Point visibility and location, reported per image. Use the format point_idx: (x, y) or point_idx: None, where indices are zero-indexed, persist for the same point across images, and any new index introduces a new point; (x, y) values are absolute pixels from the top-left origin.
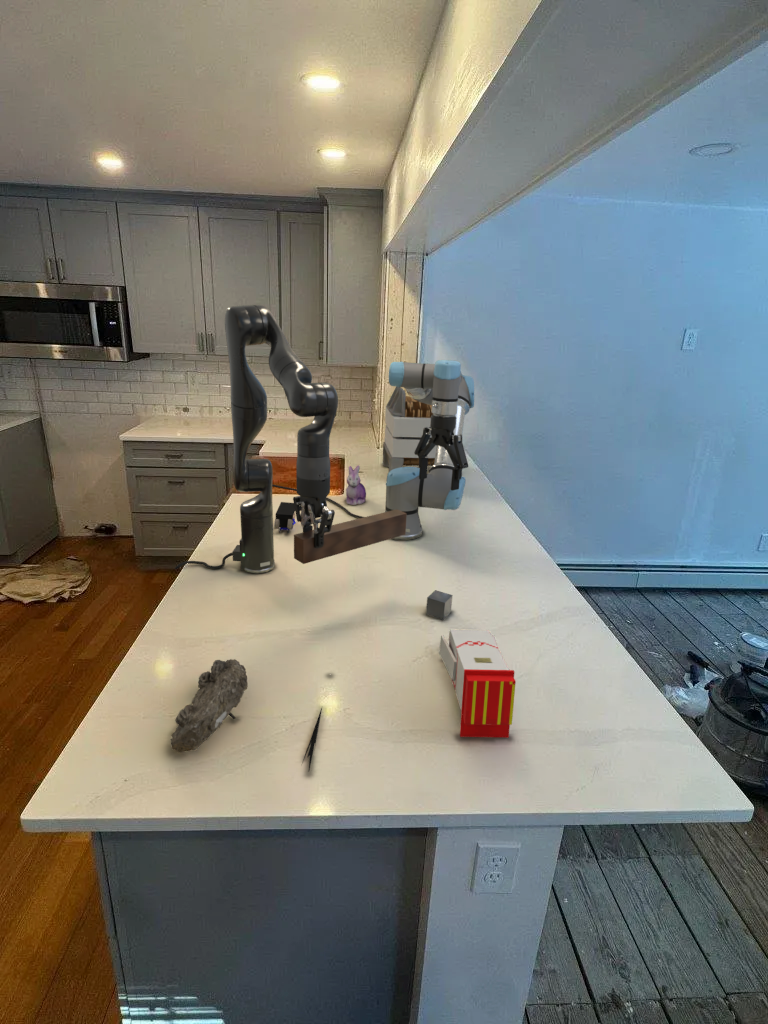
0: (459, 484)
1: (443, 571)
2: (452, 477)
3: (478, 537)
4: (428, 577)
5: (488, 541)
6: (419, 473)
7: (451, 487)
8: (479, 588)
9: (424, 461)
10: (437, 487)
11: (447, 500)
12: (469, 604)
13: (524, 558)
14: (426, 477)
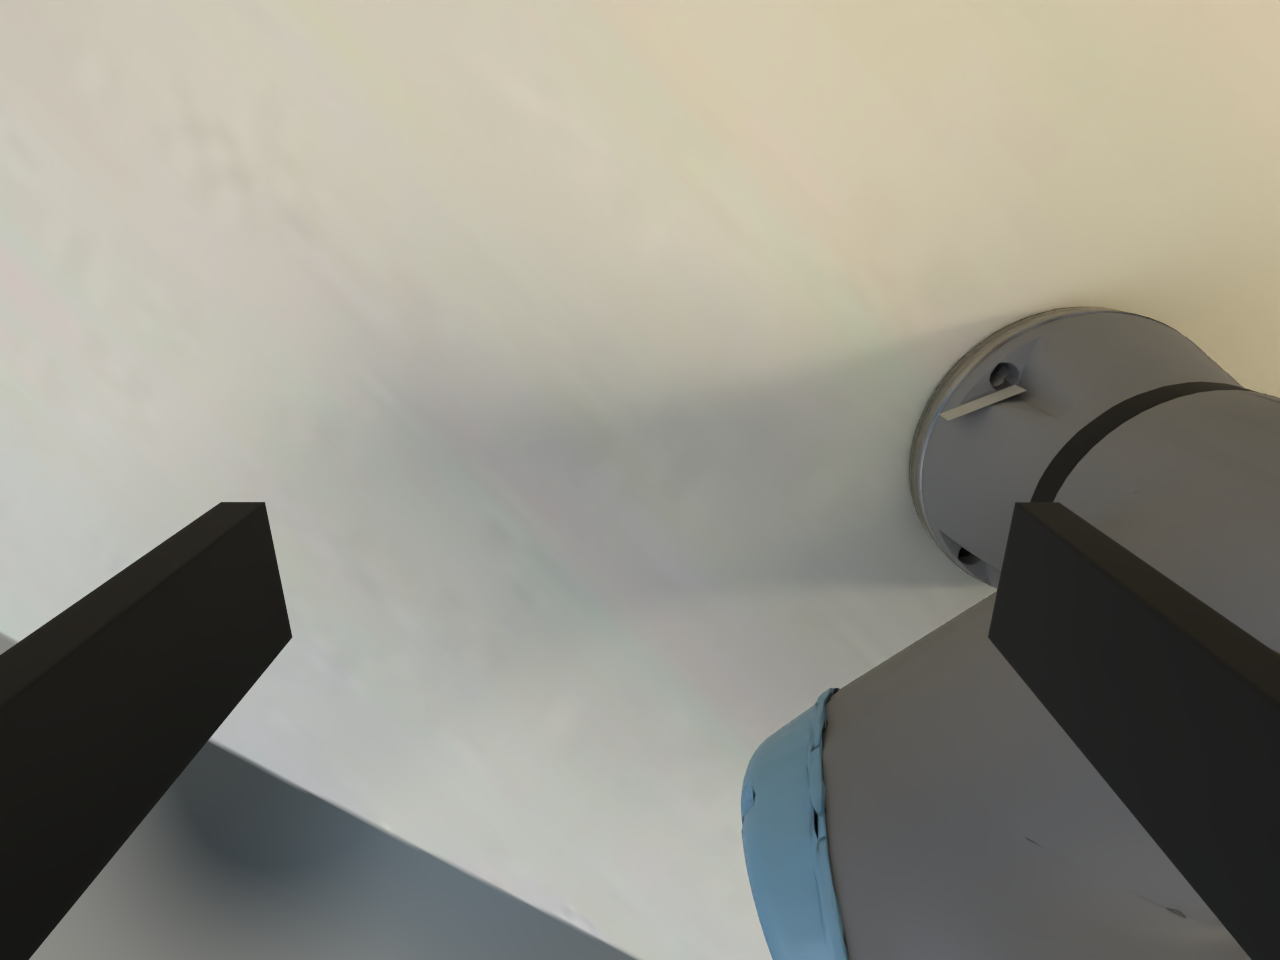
0: (792, 952)
1: (449, 244)
2: (84, 630)
3: (682, 747)
4: (430, 88)
5: (612, 748)
6: (1120, 547)
7: (224, 520)
8: (162, 252)
9: (1265, 816)
10: (954, 779)
11: (808, 735)
12: (5, 23)
13: (353, 729)
14: (994, 636)
